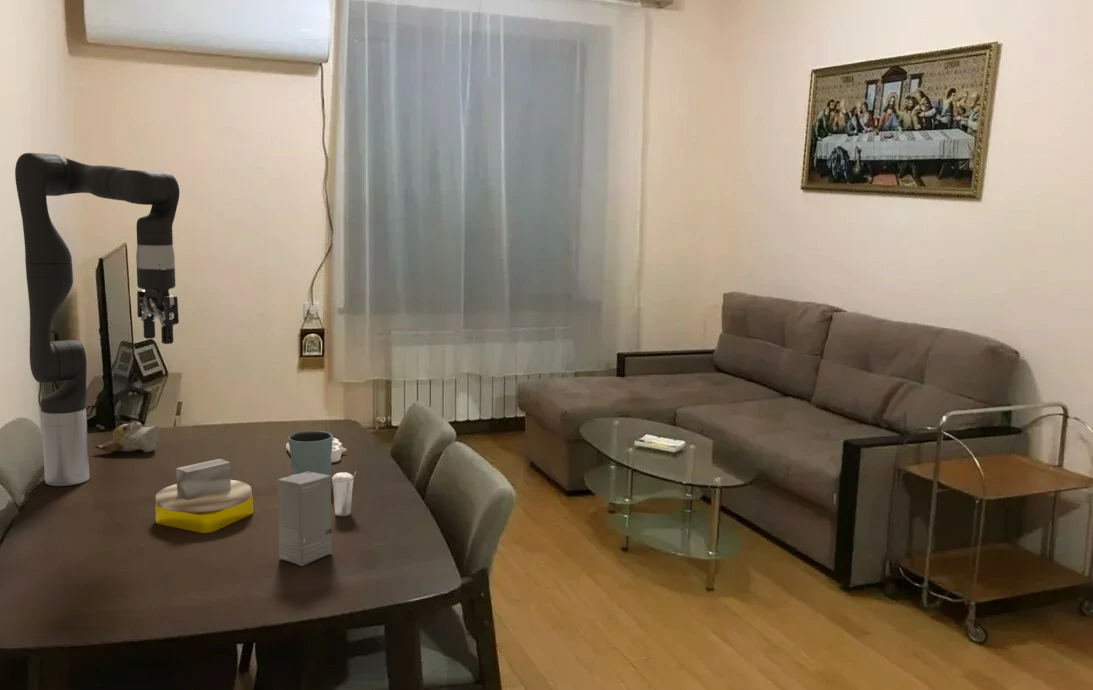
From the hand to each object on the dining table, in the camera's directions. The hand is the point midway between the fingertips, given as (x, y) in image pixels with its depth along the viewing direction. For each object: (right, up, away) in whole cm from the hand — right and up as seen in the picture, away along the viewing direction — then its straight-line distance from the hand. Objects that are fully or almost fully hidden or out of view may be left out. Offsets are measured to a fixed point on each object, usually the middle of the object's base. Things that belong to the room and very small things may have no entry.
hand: (158, 340), depth 195 cm
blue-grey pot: (+28, -34, +20) cm, 49 cm away
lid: (+11, -33, -4) cm, 35 cm away
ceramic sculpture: (-26, -29, +43) cm, 58 cm away
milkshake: (+40, -38, +1) cm, 55 cm away
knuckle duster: (+23, -31, +46) cm, 59 cm away
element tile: (+11, -38, -3) cm, 40 cm away
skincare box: (+38, -42, -22) cm, 60 cm away
